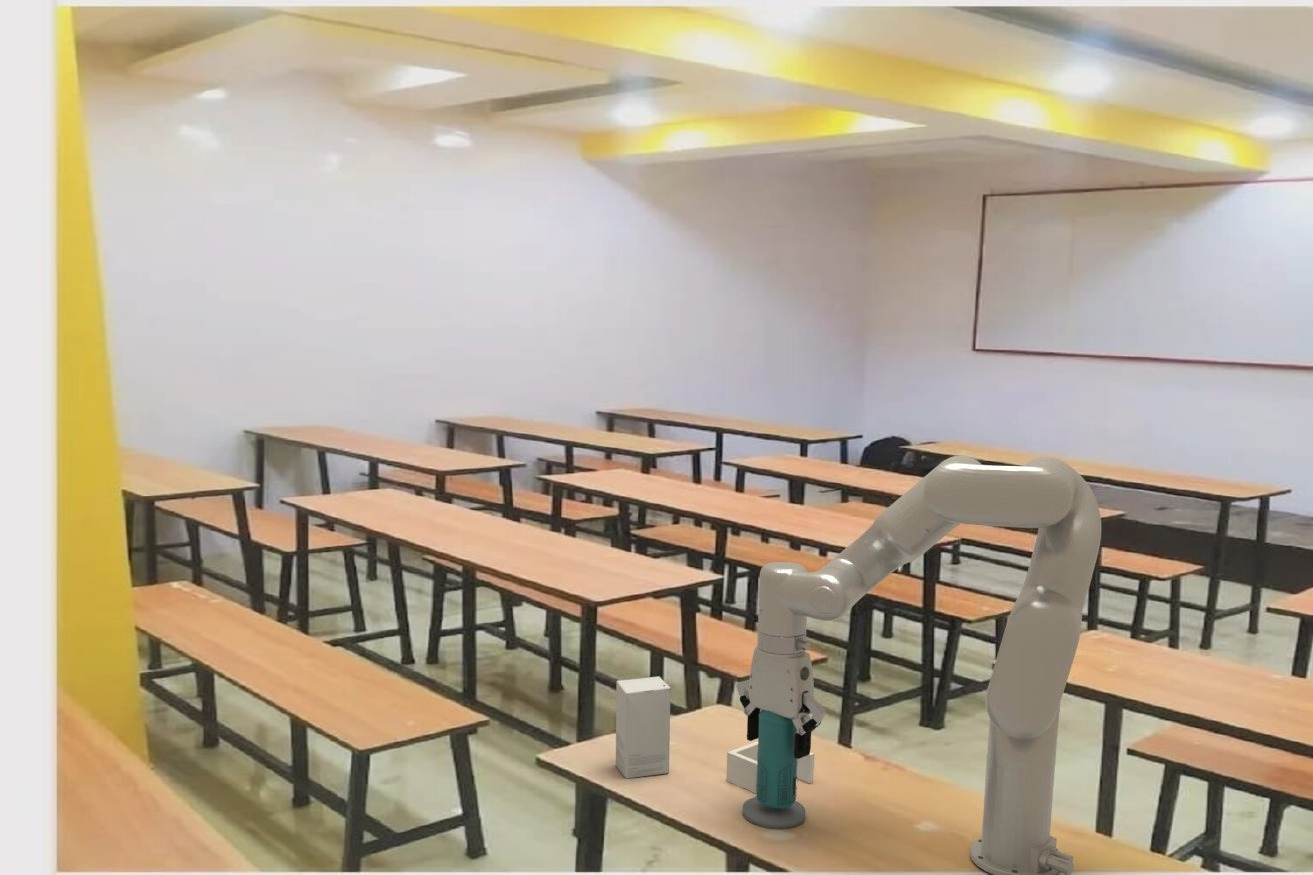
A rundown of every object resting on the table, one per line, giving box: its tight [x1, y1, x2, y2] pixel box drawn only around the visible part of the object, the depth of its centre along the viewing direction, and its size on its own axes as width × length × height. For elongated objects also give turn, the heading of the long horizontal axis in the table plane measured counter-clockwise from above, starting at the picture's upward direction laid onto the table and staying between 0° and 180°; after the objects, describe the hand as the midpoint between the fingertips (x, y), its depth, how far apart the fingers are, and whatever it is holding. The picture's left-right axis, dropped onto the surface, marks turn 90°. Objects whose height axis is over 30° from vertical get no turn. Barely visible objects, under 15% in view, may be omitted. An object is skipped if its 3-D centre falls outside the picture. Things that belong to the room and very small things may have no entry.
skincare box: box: [615, 675, 672, 779], centre depth 201 cm, size 8×7×16 cm
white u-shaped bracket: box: [725, 740, 815, 794], centre depth 198 cm, size 10×11×5 cm
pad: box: [742, 796, 807, 830], centre depth 185 cm, size 10×10×1 cm
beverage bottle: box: [755, 710, 798, 808], centre depth 184 cm, size 6×7×20 cm
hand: (778, 747), depth 184 cm, fingers open, 9 cm apart
